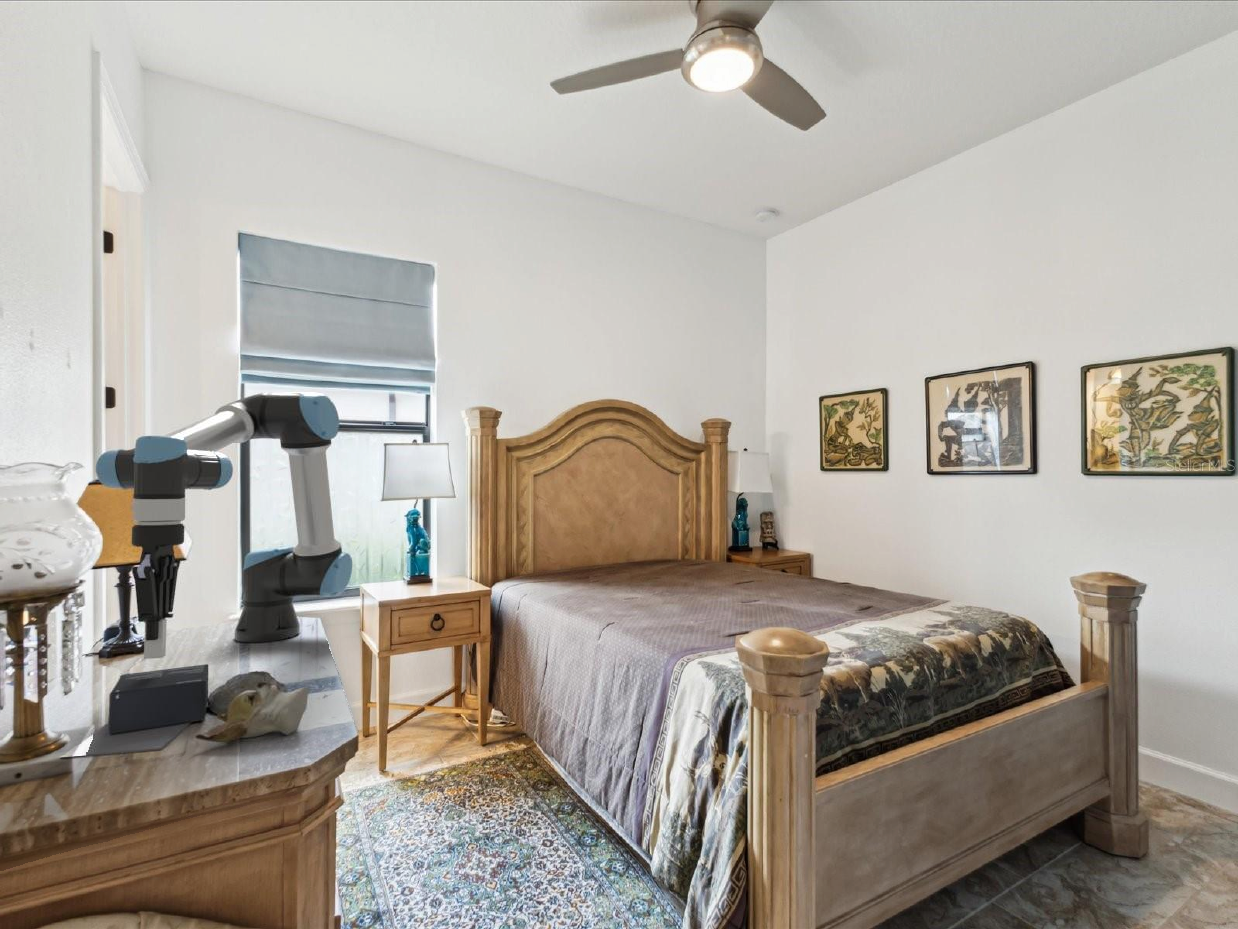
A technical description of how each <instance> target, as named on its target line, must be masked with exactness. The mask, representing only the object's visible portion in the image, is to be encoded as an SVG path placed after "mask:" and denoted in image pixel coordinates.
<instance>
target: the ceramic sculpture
mask: <svg viewBox="0 0 1238 929" xmlns="http://www.w3.org/2000/svg"><path fill="white" fill-rule="evenodd" d="M308 696H309V687H308V686H307V685H306V686H304V687H300V688H297V689H294V690H293V691H289V692H288V691H286V692H280V691H279V690H278V689H277V687H276V686H275V685H272V684H270V683H264V682H260V683H259V684H258V686H257V688H256V689H255V690H248V691H245V692H243V693H241V694H239V695H238V696H237V697H236V698H234V699H233V701H232V702H231V703H230V705H229V707H228V712H227V714H219V715H217V714H216V715H217V719H220V720H221V721H222V722H223V723H220V724H218V725H215V726H213V727H212V728H210V729H209V730H208V731H207V732H203V733H198V734H197V735H195V736H194V737H195V738H196V740H200V741H202V740H203V741H206V742H207V741H208V742H213V743H227V742H230V741H234V740H236V739H239V738H242V739H247V738H248V739H249V738H256V737H260V736H263V735H265V734H268V733H270V732H275V731H279V732H281V733H282V734H283V735H286V736H288V735H290V734H292V733H294V732H296V731H297V730H298V728H299V726H300V723H301V720H302V718H303V715H304V714H305V711H306V709H307V706H308V705H307V704H308Z"/></svg>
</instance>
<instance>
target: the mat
mask: <svg viewBox="0 0 1238 929" xmlns="http://www.w3.org/2000/svg"><path fill="white" fill-rule="evenodd" d="M207 709H208V706H207V707H206V710H207ZM192 723H193V722H188V723H181V724H174V725H168V726H161V727H154V728H148V729H142V730H135V731H129V732H123V733H116V734H110V735H109V734H108V723H107V724H105V725H104V726H102V727H101V728H100V729H98V730H97V731H94V733H92V734H93V740H92V742H91V744H90V747H89V750H88V752H86V755H87V756H86V757H94V756H107V755H116V754H117V755H118V754H127V753H139V752H150V751H151V752H153V751H161V750H163V749H164V748H165V747H166V746H168V744H170V743H171V742H172V741H173V740H174V739H176V737H177V736H179V735H180V734H181V733H182V732H183V731H184V730H185V729H186V728H188V726H190V725H191V724H192Z"/></svg>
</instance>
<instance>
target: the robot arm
mask: <svg viewBox="0 0 1238 929" xmlns="http://www.w3.org/2000/svg"><path fill="white" fill-rule="evenodd" d="M339 428H340V416H339V414H338V410H337V407H336V405H335V404H334V402H333V401H332V399H331V398H330V397H329V396H328V395H326V394H323V393H319V392H310V391H309V392H307V391H305V392H262V393H261V392H260V393H257V394H253V395H249V396H246V397H243V398H241V399H238V400H236V401H233V402H230V403H227V404H225V405H222V406H220V407H219V408H218V409H217V410H216V411H215V412H214V414H212V415H210V416H208V417H205V418H204V419H201V420H199V421H196V422H194V423H192V424H189V425H187V426H184V427H182V428H180V429H176V430H175V431H173V432H170V433H168V434H165V435H143V436H140V437H137V439H136V441H135V446H134V448H131V449H123V448H122V449H121V448H119V449H116V450H115V449H114V450H107V451H105V452H104V453H102V454H101V455H100V456H99V458H98V459H97V461H96V465H95V473H96V476H97V479H98V481H99V483H100V484H102V485H103V486H104V487H107V488H110V489H119V490H120V489H122V490H133V494H132V498H133V500H132V501H133V502H132V504H131V505H130V509H131V510H132V521H133V522H134V523H136V524H134V525H133V526H131V545H132V546H133V547H136V548H137V547H138V548H142V550H141V554H140V558H139V566H133V567H132V569H131V572H132V576H133V579H134V585H135V586H134V587H135V597H136V608H137V618H138V619H137V621H138V622H139V623H140V622H141V623H143V622H144V640H143V641H144V643H143V644H144V646H143V647H144V648H143V659H145V660H149V659H151V660H152V659H162V658H164V657H166V654H167V652H166V648H167V619H171V618H173V617H174V613H172V612H173V610H174V602H175V595H176V588H177V582H178V581H177V579H178V572H179V568H180V565H181V559H180V558H179V557H178V558H176V556H175V550H174V546H180V545H182V544H184V543H185V525H184V523H182V522H183V521H184V520H186V490H204V491H205V490H206V491H207V490H208V491H211V490H215V489H221V488H223V487H225V486H227V484H228V483H230V481H231V479H232V477H233V473H234V472H233V471H234V468H233V466H234V465H233V464H232V461H231V460H230V458H229V456H227V455H225V454H224V453H222V452H217V451H220V450H221V449H223V448H226V447H227V446H230V445H231V444H243V443H245V442H248V441H249V440H257V439H258V440H259V439H268V440H269V439H271V440H272V439H274V440H279V441H280V448H281V450H283V451H285V452H286V453H287V454H288V460H289V470H290V471H289V472H290V477H291V479H290V480H291V487H292V499H293V505H294V506H293V507H294V515H295V524H296V533H297V545H296V546H285V547H284V546H283V547H275V548H269V549H262V550H257V551H256V550H255V551H250V552H248V553H247V554H246V555H245V557H244V564H243V570H242V571H243V596H242V598H243V599H242V600H243V601H242V602H243V605H242V607H243V608H242V611H241V613H240V617H239V619H238V621H237V624H236V627H235V629H234V641H237V642H239V643H240V642H241V643H265V642H273V641H274V640H275V641H280V640H285V638H286V639H289V638H288V637H290V638H293V637H296V636H297V635H296V634H298V633H299V632H300V631H301V629H300V628H301V626H300V621H299V619H298V616H297V613H296V609H295V606H294V597H299V598H300V597H301V598H302V597H303V598H308V597H310V598H311V597H312V598H322V599H323V598H328V597H332V598H333V597H337V596H340V595H341V594H342V593H344V591H345V590H346V589H347V586H348V584H349V582H350V580H351V577H352V571H353V559H352V556H351V554H350V553H349V552H346V551H343V549H342V543H341V542H340V541H339V540H337V539H335V532H334V530H335V529H334V521H333V520H334V519H333V509H332V502H331V492H330V490H331V489H330V482H329V481H330V480H329V471H328V461H327V450H328V449H329V448H330V447H331V446H332V439H335V438H336V437H337V435H338V433H339ZM300 633H301V632H300ZM300 633H299V634H300ZM299 634H298V635H299ZM295 635H296V636H295Z"/></svg>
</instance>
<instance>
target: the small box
mask: <svg viewBox="0 0 1238 929" xmlns="http://www.w3.org/2000/svg"><path fill="white" fill-rule="evenodd" d="M208 697H209V664H206V663H205V664H200V665H191V666H182V667H176V668H175V667H173V668H165V669H159V670H150V671H149V670H148V671H142V672H133V673H125V674H121V675H119V678H118V681H117V682H116V684H115V685H114V687H113V689H112V691H111V692H110V693H109V697H108V698H109V699H108V700H109V701H108V702H109V703H108V720H107V721H108V722H107V724H108V734H109V735H110V734H116V733H123V732H129V731H135V730H142V729H148V728H154V727H161V726H168V725H174V724H181V723H188V722H192V723H193V722H200V721H204V720H206V713H207V712H206V711H207V709H206V707H207V708H208V706H207V704H208V703H207V701H208Z"/></svg>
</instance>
